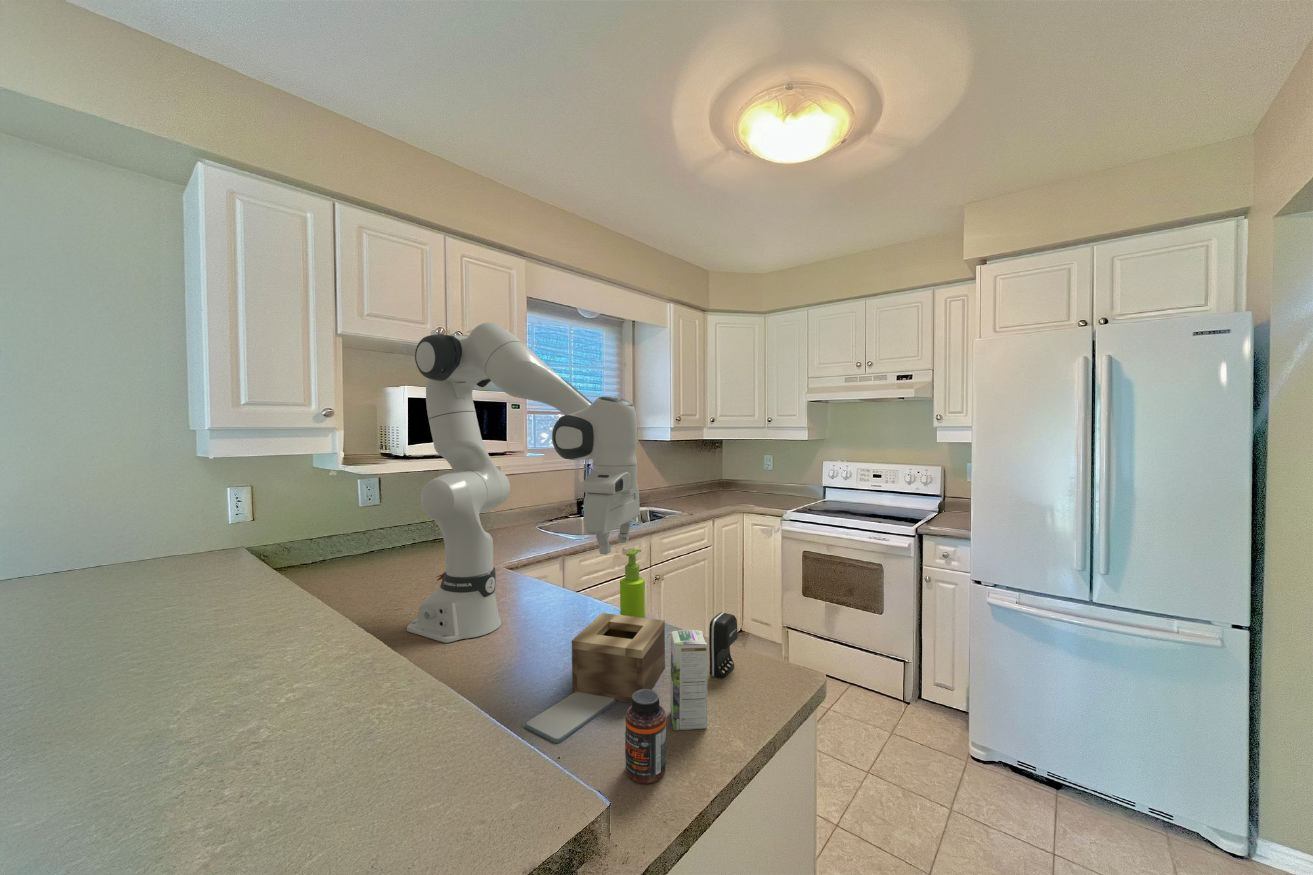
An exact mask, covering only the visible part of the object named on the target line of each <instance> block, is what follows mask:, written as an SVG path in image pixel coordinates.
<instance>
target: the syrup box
mask: <svg viewBox="0 0 1313 875" xmlns="http://www.w3.org/2000/svg"><path fill="white" fill-rule="evenodd" d="M670 637H671V638H670V642H671V643H670V646H671V647H670V699H669V700H670V718H671V724H672V728H673V730H674V731H685V730H686V731H687V730H701V729H708V661H709V660H708V659H709V657H708V648H709V647H708V646H709V644H708V642H707V639H706V637H705V634H704V632H703V631H702V630H696V629H681V630H680V629H679V630H674V631H671V635H670Z"/></svg>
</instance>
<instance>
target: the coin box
mask: <svg viewBox="0 0 1313 875" xmlns="http://www.w3.org/2000/svg"><path fill="white" fill-rule="evenodd" d="M665 624H666V623H665V619H655V618H648V617H645V618H640V617H632V616H623V615H620V614H612V613H604V612H601V613H600V614H599V615H598V616H597V617H595V619H593V620H592V622H590V623H589V624H588V625H587V626H586V627H585V628H584V629H582V630H581V631H580V633H578V634H577V635H576V636H574V638H573V639H572V640H571V677H572V678H571V682H572V683H571V684H572V689H571V690H572V693H574V692H581V693H587V694H592V695H598V696H604V697H609V698H615V700H616V701H617V702H623V703H629V704H632V695H633V694H634V693H635V692H636V691H638V690H642V689H650V690H654V687H655V686H656V684H657V682H658V680H659V679H660V677H661V676H660V675H662V673H663V672H664V671H663V670H665V668H666V646H665V645H666V643H665V642H666V636H665V634H666V632H665V630H666V629H665V627H666V625H665ZM572 693H571V694H572Z"/></svg>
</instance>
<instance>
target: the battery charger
mask: <svg viewBox="0 0 1313 875" xmlns="http://www.w3.org/2000/svg"><path fill="white" fill-rule="evenodd" d="M708 627H709V628H708V629H709V633H708V634H709V637H708V639H709V640H708V643H709V644H708V646H709V647H708V648H709V652H708V653H709V675H710V677H713V678H718V679H724V678H726V677H727V676H728V675H729V674H730V673H731V671H732V670H733V669H734V668H735V662H734V660H733V658H732V656H731V648H730V647H731V645H732V644H734V643H735V642H736V641H737V639H738V637H739V634H738V632H739V631H738V620H737V617H736V615H734V614H731V613H727V612H719V613H717V614H716V615H715V616H714V617H713V618H712V619H711V620H710V623H709V626H708Z"/></svg>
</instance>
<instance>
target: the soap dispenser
mask: <svg viewBox="0 0 1313 875" xmlns="http://www.w3.org/2000/svg"><path fill="white" fill-rule="evenodd" d="M640 552H642V549H640V548H639V549H638V548H631V549H630V550H628V551H627V552H626V554H625V556H626V557H628V563H627V564H625V566H624V577H622V578H621V579H620V580H619V608H620V609H619V612H620V613H619V615H623V616H632V617H640V618H646V599H645V598H646V594H645V592H646V588H645V586H646V585H645V584H646V582H645V579H644V578H643V577H641V576H640V564H638V563H636V560H637V559H636V558H637V557H636V556H637V554H638V553H640Z"/></svg>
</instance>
